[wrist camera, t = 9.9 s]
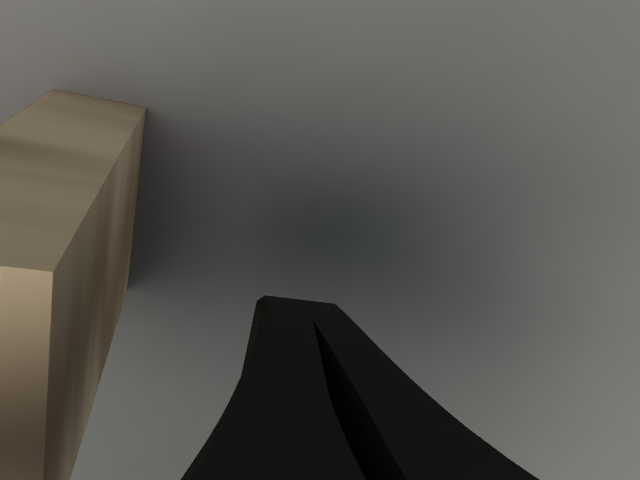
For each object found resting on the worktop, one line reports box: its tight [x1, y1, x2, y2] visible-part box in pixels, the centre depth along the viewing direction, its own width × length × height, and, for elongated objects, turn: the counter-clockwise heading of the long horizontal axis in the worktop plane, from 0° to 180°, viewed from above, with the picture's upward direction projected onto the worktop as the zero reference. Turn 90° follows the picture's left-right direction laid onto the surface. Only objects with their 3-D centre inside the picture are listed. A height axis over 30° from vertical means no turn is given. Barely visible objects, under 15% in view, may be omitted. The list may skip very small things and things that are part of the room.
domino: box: [0, 90, 146, 480], centre depth 10 cm, size 5×2×8 cm, turn 167°
